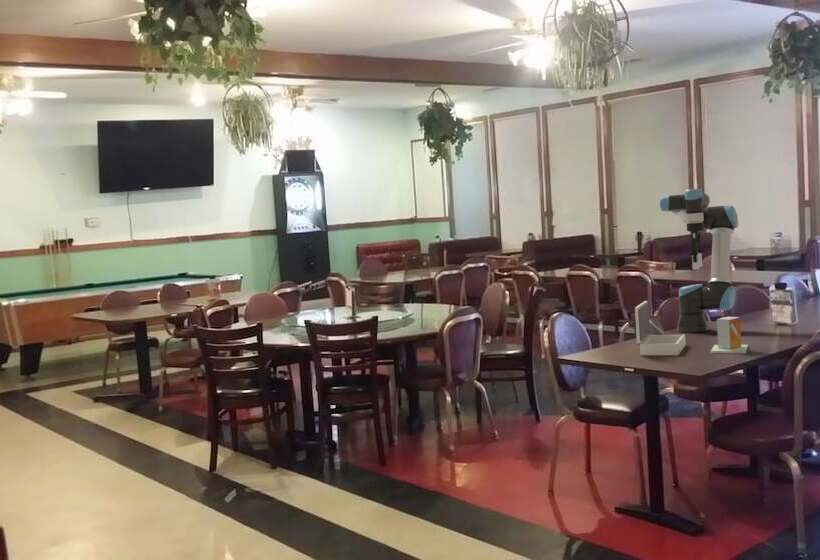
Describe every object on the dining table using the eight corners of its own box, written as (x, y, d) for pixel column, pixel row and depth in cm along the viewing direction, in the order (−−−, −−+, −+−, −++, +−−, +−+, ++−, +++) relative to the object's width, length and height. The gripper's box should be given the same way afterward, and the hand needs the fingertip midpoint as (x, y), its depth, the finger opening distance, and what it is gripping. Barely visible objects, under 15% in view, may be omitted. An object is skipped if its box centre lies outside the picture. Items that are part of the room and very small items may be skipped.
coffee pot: (663, 345, 384) (661, 313, 383) (639, 345, 391) (637, 314, 390) (676, 338, 402) (674, 307, 401) (652, 338, 408) (650, 308, 407)
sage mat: (714, 346, 371) (714, 344, 371) (748, 346, 365) (747, 344, 365) (710, 353, 357) (710, 351, 357) (745, 353, 351) (745, 350, 350)
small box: (730, 349, 356) (729, 319, 355) (717, 348, 362) (716, 318, 361) (741, 346, 361) (740, 317, 360) (728, 345, 366) (727, 316, 365)
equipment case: (647, 345, 389) (645, 300, 388) (685, 344, 382) (683, 299, 380) (637, 355, 366) (634, 307, 364) (678, 355, 358) (675, 306, 357)
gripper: (689, 222, 395) (692, 266, 397) (683, 224, 373) (685, 270, 374) (706, 220, 392) (708, 265, 394) (700, 222, 370) (703, 270, 371)
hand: (697, 268), depth 384 cm, fingers open, 13 cm apart
